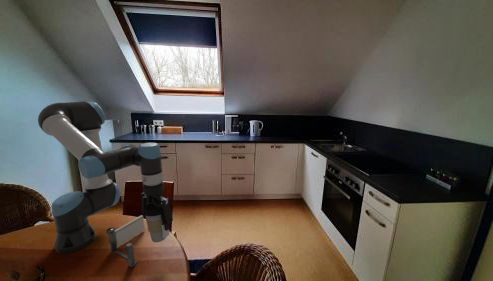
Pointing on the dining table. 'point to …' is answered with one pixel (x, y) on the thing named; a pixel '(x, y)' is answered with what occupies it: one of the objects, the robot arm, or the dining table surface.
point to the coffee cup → (154, 222)
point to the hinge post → (112, 239)
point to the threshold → (123, 255)
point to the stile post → (130, 255)
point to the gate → (129, 230)
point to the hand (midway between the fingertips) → (158, 232)
